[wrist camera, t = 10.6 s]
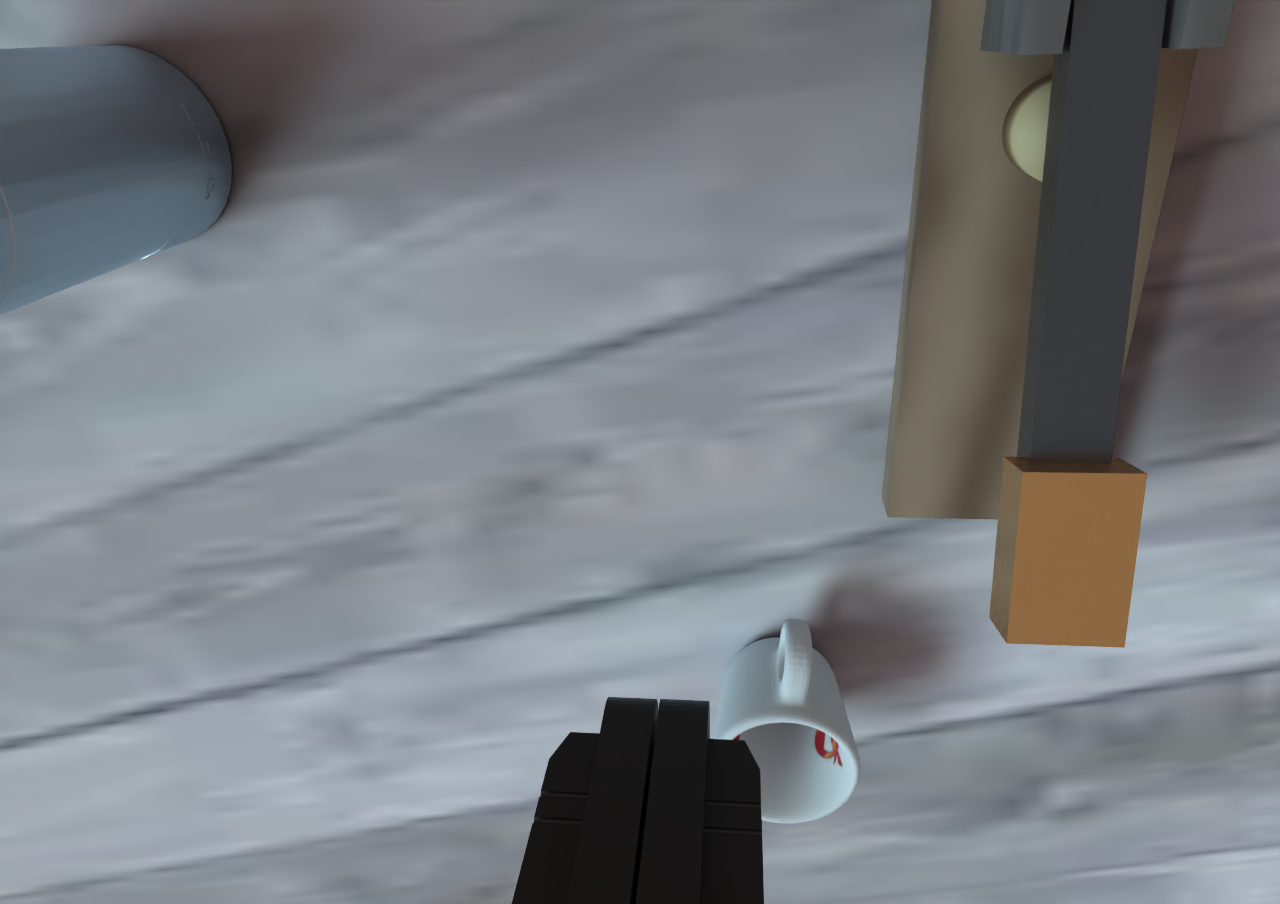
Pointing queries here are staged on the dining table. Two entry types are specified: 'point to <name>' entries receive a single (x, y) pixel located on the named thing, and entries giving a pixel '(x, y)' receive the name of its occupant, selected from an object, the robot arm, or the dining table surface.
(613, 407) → the dining table surface
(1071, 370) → the press lever
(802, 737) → the cup
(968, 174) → the press base
